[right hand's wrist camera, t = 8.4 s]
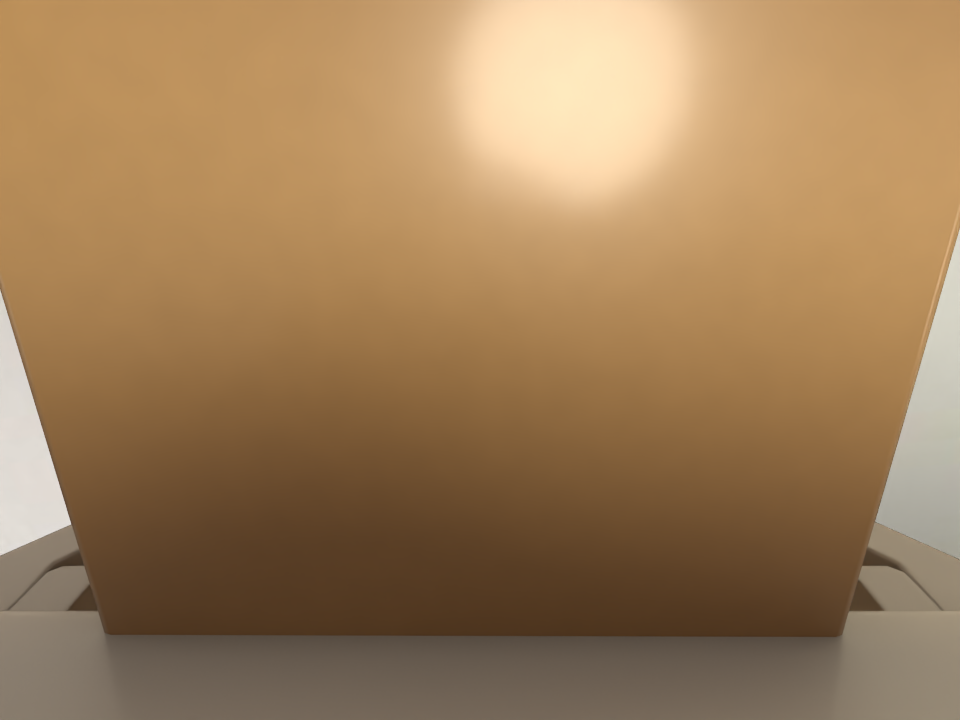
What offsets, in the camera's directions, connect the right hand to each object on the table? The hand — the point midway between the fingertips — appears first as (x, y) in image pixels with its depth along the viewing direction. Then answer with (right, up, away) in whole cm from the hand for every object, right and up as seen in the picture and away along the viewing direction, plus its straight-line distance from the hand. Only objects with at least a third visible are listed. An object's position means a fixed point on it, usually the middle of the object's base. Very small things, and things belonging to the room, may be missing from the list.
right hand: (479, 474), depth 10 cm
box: (0, +10, +4) cm, 11 cm away
